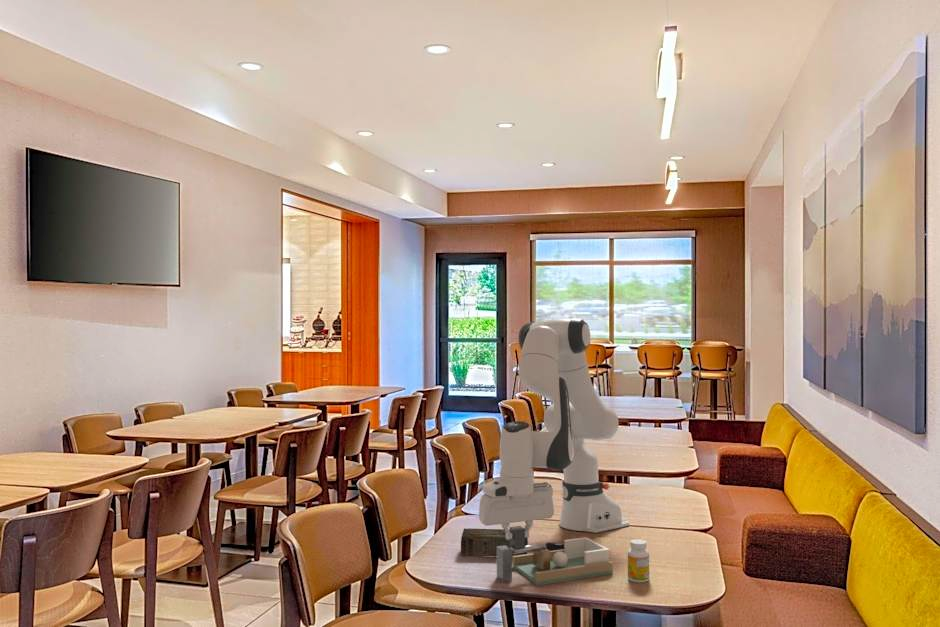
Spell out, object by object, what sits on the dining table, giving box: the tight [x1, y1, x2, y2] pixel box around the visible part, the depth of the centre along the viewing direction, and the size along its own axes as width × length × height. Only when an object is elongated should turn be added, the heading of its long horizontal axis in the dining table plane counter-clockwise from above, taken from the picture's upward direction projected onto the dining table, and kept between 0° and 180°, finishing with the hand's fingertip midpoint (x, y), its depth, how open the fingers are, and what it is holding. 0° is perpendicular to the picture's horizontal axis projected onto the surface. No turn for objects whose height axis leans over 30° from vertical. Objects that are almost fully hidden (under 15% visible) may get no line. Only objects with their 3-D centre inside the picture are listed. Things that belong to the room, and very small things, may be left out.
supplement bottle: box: [627, 538, 650, 583], centre depth 198 cm, size 5×5×10 cm
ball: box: [553, 552, 568, 567], centre depth 205 cm, size 4×4×4 cm
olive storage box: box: [460, 527, 529, 558], centre depth 221 cm, size 8×19×7 cm, turn 86°
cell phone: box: [545, 542, 564, 551], centre depth 222 cm, size 7×14×1 cm, turn 158°
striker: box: [509, 525, 550, 571], centre depth 202 cm, size 10×6×11 cm, turn 111°
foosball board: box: [512, 536, 614, 586], centre depth 206 cm, size 22×15×6 cm
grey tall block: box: [496, 545, 513, 583], centre depth 199 cm, size 2×4×8 cm, turn 21°
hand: (517, 538), depth 201 cm, fingers closed on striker, 3 cm apart
